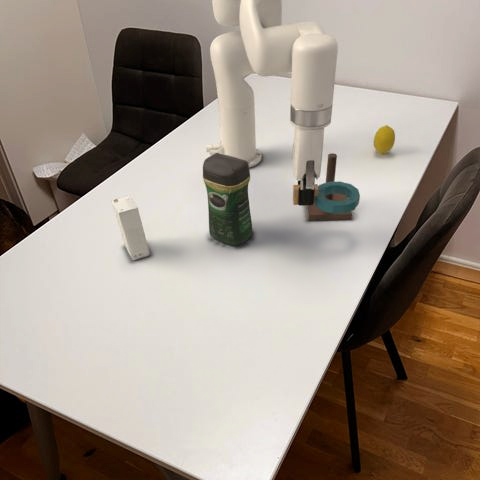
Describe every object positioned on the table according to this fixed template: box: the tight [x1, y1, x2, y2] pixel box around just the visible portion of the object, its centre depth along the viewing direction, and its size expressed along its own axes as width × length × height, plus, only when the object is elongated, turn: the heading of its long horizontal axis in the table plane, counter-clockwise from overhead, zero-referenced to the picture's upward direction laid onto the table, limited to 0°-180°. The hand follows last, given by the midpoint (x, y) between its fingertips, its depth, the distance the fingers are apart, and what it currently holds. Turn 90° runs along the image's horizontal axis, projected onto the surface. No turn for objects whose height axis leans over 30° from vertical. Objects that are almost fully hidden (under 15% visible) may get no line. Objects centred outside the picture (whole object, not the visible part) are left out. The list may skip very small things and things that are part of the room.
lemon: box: [373, 124, 396, 155], centre depth 129 cm, size 6×6×8 cm
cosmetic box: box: [111, 195, 151, 261], centre depth 101 cm, size 6×4×12 cm
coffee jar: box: [202, 153, 254, 247], centre depth 101 cm, size 10×8×19 cm
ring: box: [292, 180, 361, 214], centre depth 98 cm, size 14×9×4 cm
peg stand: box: [305, 152, 353, 222], centre depth 109 cm, size 10×10×14 cm
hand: (305, 200), depth 99 cm, fingers closed on ring, 2 cm apart
